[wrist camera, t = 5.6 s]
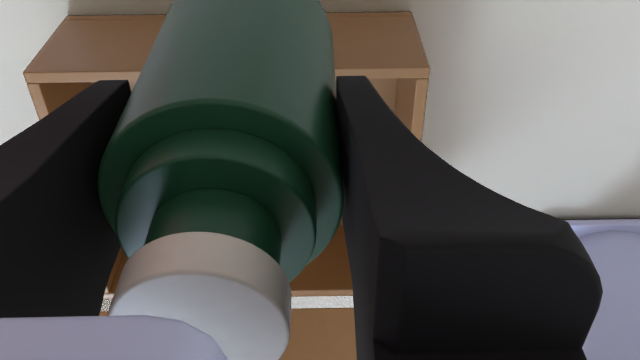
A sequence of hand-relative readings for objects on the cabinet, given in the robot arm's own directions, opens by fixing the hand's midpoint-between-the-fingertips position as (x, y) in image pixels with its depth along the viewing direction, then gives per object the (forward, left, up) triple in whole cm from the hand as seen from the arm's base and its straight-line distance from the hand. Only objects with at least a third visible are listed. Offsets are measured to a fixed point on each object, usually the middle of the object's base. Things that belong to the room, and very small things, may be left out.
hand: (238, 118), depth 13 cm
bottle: (0, 0, -4) cm, 4 cm away
